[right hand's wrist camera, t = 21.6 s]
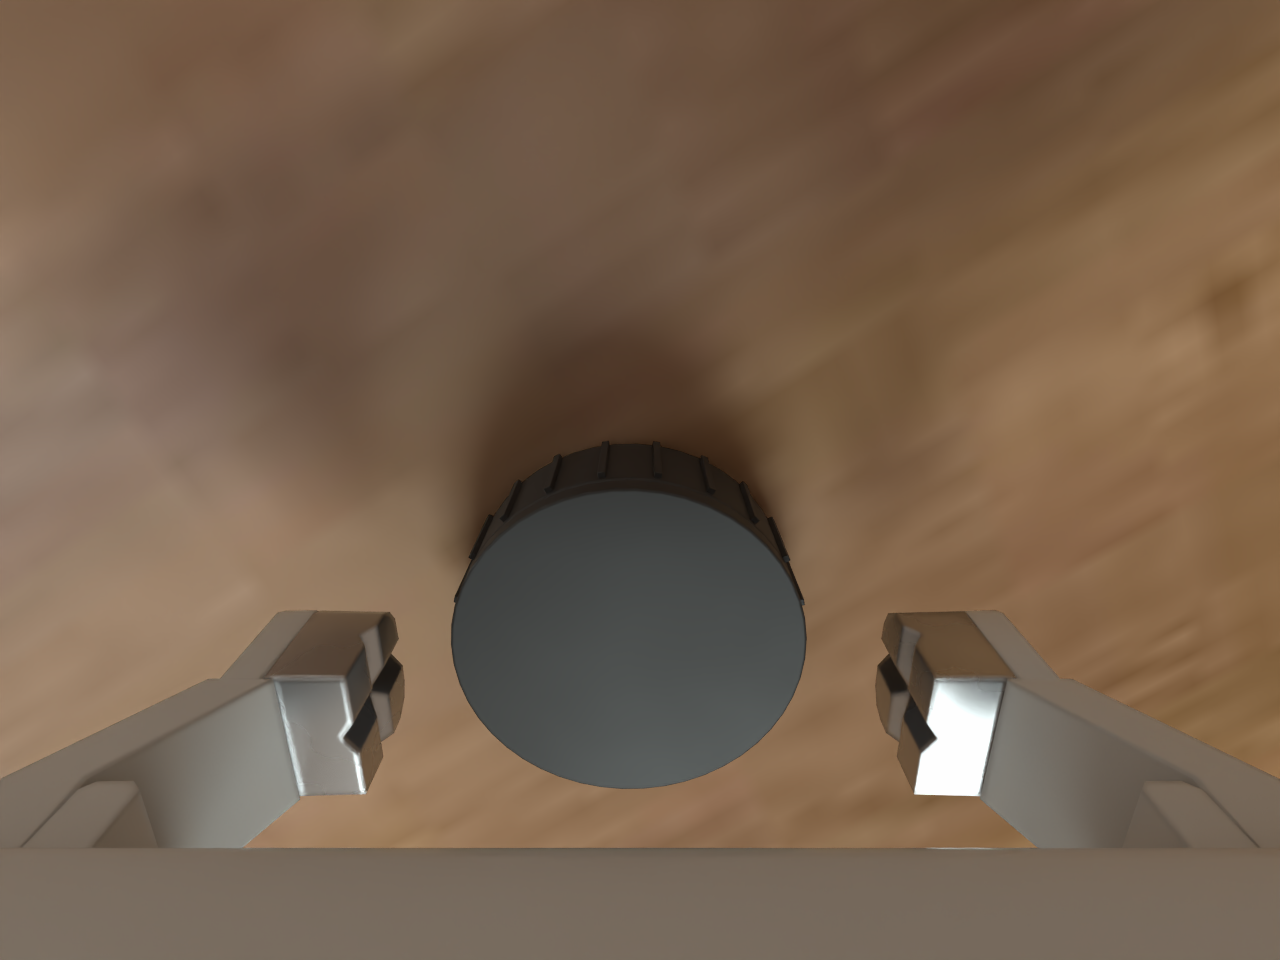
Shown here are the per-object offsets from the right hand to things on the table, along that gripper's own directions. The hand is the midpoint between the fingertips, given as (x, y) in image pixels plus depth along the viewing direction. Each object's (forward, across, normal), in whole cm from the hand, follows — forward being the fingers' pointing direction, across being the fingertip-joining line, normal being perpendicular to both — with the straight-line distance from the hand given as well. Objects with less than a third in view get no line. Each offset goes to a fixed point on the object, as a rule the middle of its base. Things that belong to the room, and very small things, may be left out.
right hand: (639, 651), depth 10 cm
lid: (0, 0, 0) cm, 1 cm away
